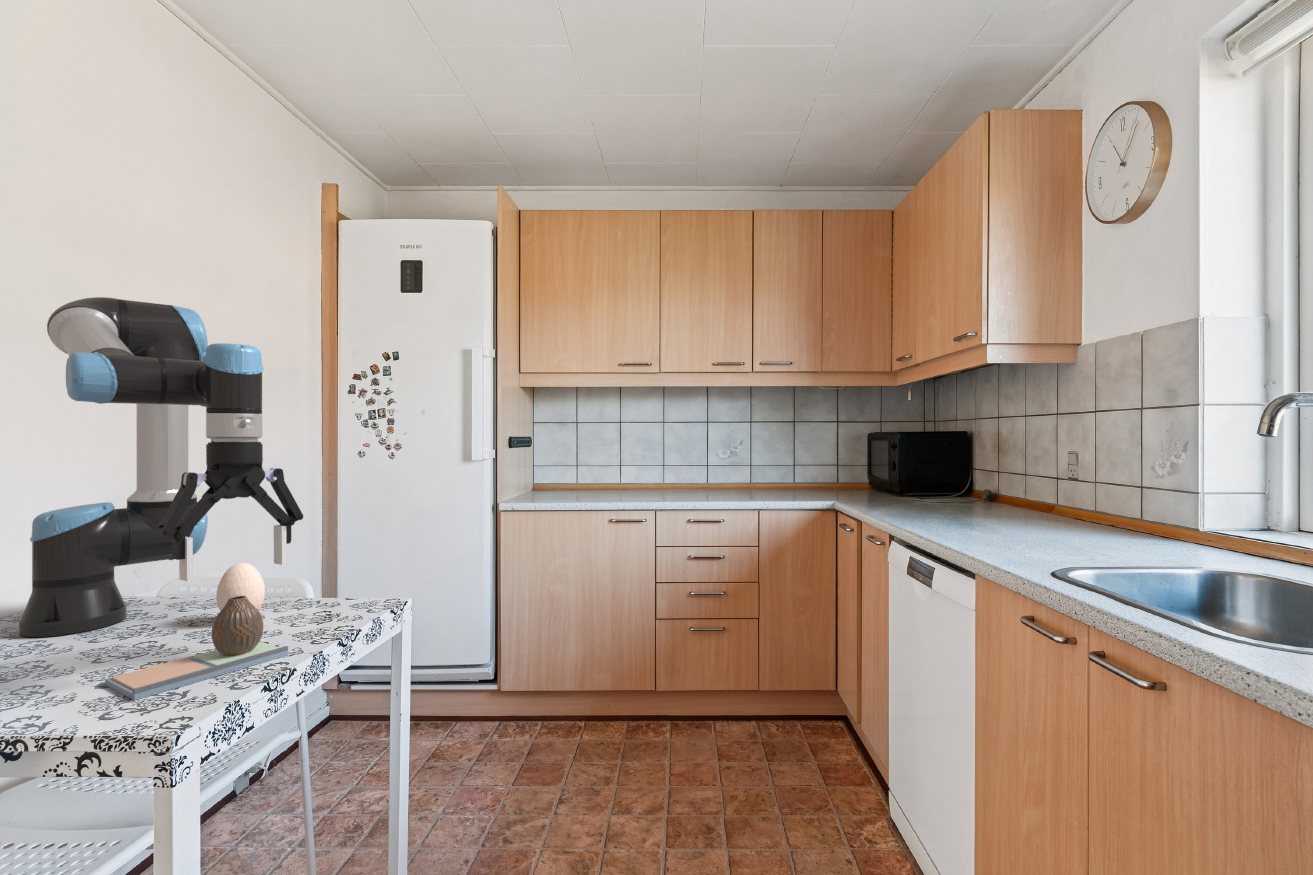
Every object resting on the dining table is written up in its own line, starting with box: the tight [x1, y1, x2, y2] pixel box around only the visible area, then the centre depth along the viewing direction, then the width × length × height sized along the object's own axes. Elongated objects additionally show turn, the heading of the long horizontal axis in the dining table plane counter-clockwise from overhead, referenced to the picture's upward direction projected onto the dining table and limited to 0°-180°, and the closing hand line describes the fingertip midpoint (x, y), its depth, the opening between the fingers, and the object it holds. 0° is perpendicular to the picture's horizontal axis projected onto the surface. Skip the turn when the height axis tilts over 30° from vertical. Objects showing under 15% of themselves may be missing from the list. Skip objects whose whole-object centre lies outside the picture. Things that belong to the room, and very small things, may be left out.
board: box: [104, 640, 289, 701], centre depth 94 cm, size 11×20×1 cm, turn 148°
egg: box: [215, 562, 266, 612], centre depth 120 cm, size 8×8×11 cm
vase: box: [211, 596, 264, 656], centre depth 99 cm, size 7×7×9 cm
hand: (235, 571), depth 99 cm, fingers open, 13 cm apart
